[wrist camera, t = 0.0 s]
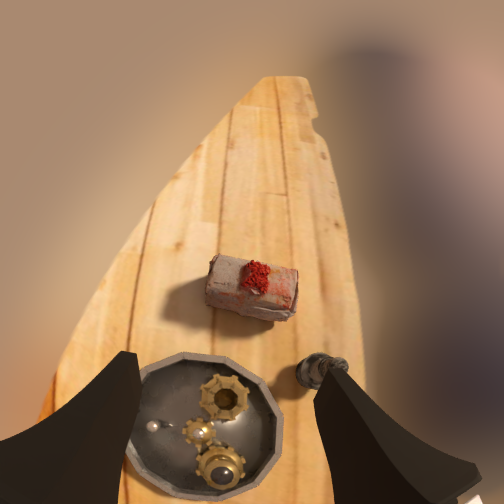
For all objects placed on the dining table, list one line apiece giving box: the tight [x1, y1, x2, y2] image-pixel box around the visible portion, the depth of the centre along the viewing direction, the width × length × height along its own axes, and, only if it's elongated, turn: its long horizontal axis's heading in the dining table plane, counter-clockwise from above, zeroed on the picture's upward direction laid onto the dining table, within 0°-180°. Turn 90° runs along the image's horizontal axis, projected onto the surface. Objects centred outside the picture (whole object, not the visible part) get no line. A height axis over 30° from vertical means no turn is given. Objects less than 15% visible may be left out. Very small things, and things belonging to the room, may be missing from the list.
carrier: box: [126, 352, 284, 502], centre depth 31 cm, size 24×24×7 cm
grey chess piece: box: [296, 353, 348, 390], centre depth 35 cm, size 6×6×12 cm
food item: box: [205, 254, 299, 321], centre depth 40 cm, size 14×8×10 cm, turn 83°
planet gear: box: [199, 374, 250, 421], centre depth 33 cm, size 7×7×5 cm
